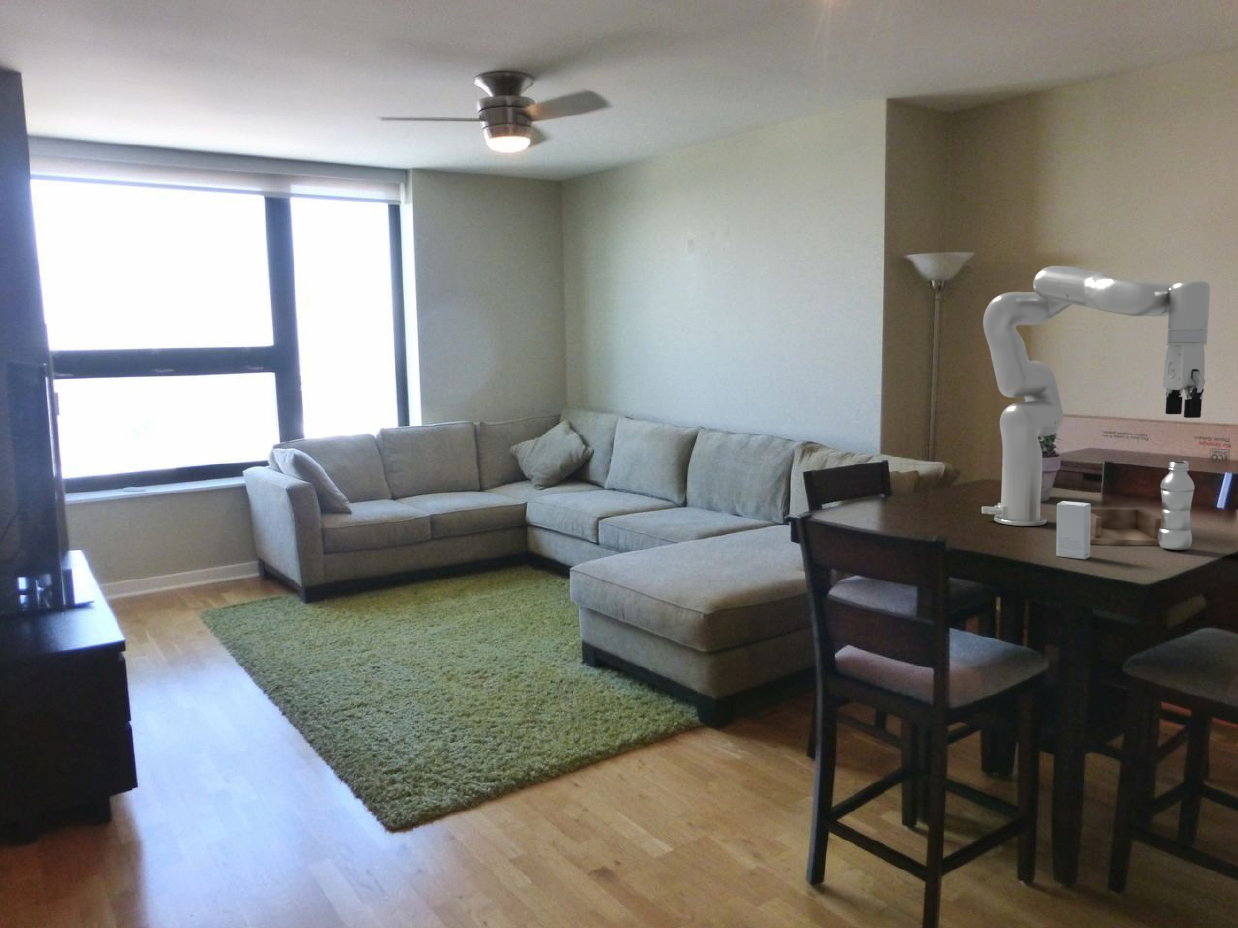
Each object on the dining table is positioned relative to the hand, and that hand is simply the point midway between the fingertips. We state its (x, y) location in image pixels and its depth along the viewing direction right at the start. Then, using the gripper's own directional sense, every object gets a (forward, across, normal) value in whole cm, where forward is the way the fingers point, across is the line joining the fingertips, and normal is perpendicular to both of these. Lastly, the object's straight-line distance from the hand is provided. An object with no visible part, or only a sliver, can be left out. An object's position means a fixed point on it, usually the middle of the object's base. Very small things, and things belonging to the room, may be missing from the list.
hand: (1182, 415), depth 204 cm
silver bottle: (+31, 0, 0) cm, 31 cm away
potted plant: (+31, -66, -14) cm, 74 cm away
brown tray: (+30, -12, -8) cm, 34 cm away
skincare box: (+31, +9, -24) cm, 40 cm away
